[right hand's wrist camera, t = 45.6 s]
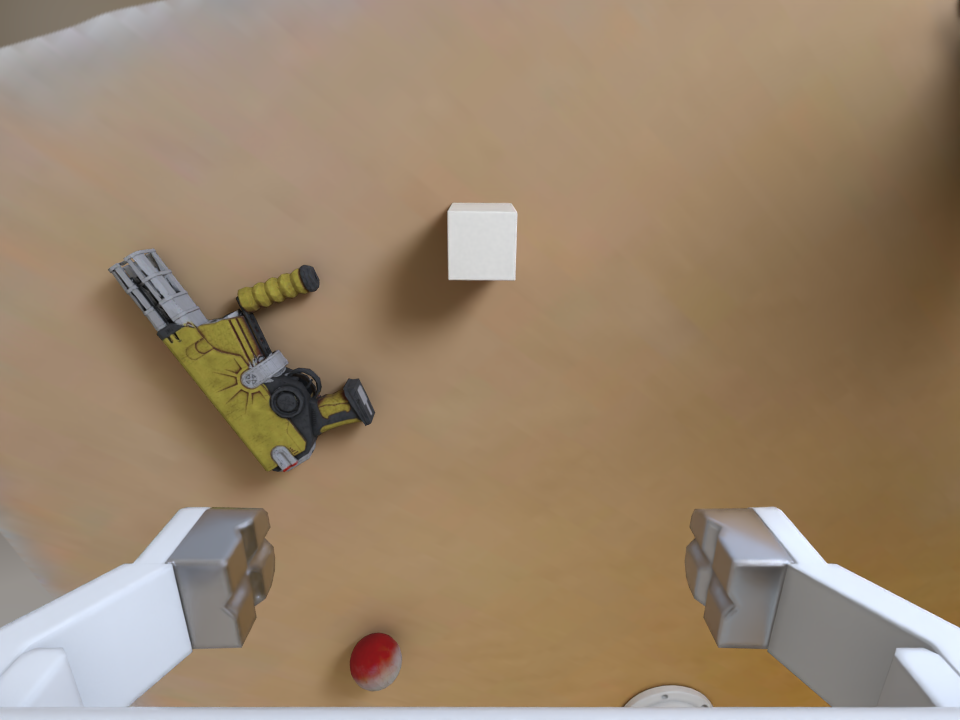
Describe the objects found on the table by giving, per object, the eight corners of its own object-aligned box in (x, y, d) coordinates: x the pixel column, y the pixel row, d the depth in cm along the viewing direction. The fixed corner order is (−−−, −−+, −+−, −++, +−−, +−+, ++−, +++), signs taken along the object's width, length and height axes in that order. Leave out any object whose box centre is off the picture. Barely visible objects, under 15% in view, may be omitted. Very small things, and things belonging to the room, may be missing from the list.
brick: (511, 203, 50) (517, 211, 43) (510, 262, 52) (515, 280, 44) (452, 202, 50) (447, 211, 43) (452, 262, 52) (448, 280, 44)
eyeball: (373, 666, 69) (364, 711, 64) (346, 632, 67) (334, 676, 62) (415, 649, 68) (409, 693, 63) (388, 614, 66) (379, 657, 61)
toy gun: (241, 178, 46) (99, 272, 48) (400, 408, 52) (270, 485, 54) (259, 181, 51) (129, 267, 52) (404, 392, 57) (284, 464, 58)
